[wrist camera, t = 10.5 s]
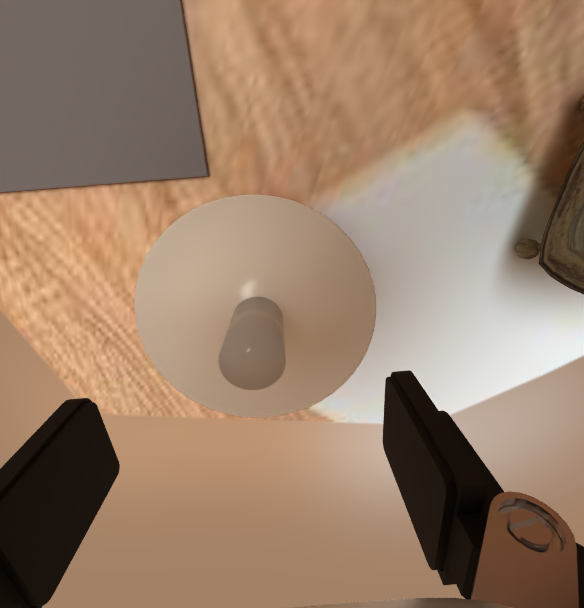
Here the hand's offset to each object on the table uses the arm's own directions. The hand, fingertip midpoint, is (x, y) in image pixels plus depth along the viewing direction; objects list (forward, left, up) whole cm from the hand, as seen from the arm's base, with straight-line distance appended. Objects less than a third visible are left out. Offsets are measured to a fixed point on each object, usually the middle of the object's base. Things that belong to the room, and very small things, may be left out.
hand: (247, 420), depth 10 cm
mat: (+11, -16, -17) cm, 26 cm away
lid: (0, +1, -11) cm, 11 cm away
